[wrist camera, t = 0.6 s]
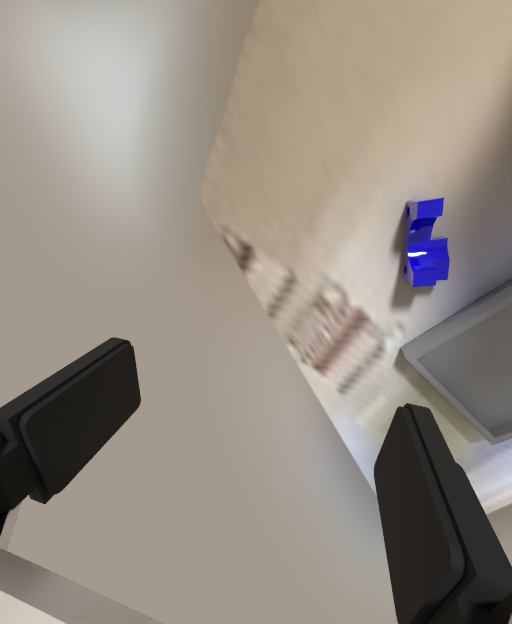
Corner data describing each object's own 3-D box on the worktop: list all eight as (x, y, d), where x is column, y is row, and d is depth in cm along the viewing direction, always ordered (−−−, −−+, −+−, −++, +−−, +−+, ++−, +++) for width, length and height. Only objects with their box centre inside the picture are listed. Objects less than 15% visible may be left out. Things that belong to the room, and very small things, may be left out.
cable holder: (438, 273, 29) (453, 283, 25) (402, 276, 30) (412, 286, 26) (445, 194, 26) (464, 194, 22) (406, 201, 27) (417, 201, 23)
